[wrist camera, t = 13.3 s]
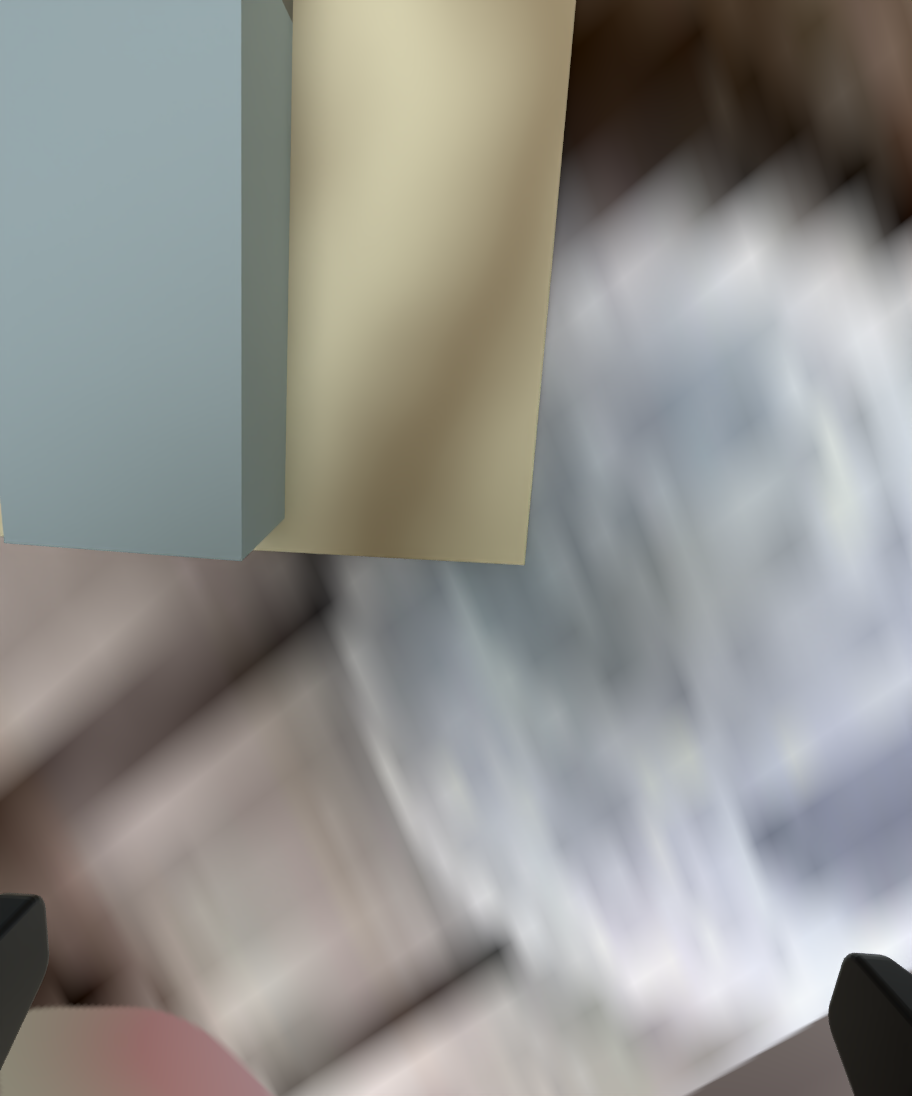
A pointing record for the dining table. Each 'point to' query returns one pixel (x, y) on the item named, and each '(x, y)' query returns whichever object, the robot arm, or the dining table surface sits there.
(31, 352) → the slate block
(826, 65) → the dining table surface
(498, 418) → the birch board
